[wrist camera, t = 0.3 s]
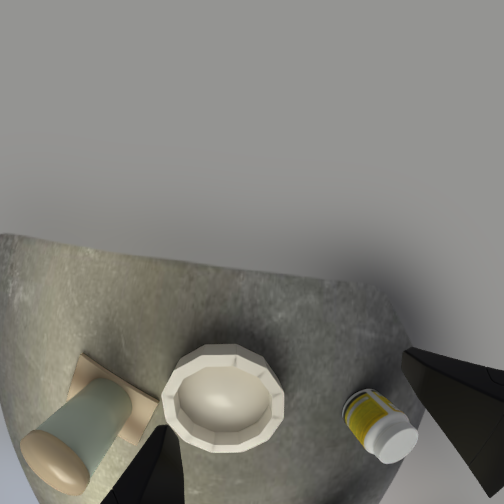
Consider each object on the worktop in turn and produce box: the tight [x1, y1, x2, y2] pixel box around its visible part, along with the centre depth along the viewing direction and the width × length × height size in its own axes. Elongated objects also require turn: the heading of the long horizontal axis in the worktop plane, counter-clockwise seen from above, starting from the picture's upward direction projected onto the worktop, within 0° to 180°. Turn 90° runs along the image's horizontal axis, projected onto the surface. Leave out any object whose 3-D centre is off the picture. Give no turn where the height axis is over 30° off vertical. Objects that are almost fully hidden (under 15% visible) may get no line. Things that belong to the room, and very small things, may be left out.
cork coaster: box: [66, 353, 159, 446], centre depth 22 cm, size 7×9×1 cm
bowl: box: [162, 344, 284, 453], centre depth 22 cm, size 10×10×3 cm
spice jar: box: [20, 378, 132, 496], centre depth 16 cm, size 5×5×12 cm
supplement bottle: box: [342, 389, 418, 464], centre depth 20 cm, size 5×5×8 cm
